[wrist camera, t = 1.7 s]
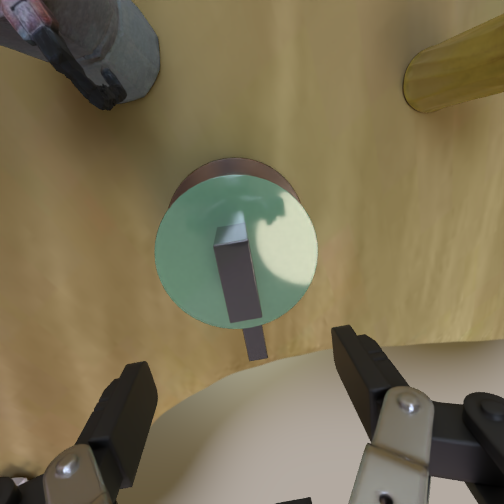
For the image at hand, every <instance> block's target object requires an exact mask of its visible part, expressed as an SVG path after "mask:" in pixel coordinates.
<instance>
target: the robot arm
mask: <svg viewBox="0 0 504 504" xmlns="http://www.w3.org/2000/svg"><path fill="white" fill-rule="evenodd" d="M331 333H332V344H333V353H334V361H335V365H336V369H337V371H338V374H339V376H340V378H341V380H342V382H343V384H344V386H345V388H346V390H347V393H348V395H349V397H350V399H351V401H352V403H353V405H354V407H355V409H356V411H357V413H358V416H359V418H360V420H361V422H362V424H363V426H364V428H365V430H366V432H367V435H368V437H369V439H370V441H371V444H370V443H367V445H366V447H365V450H364V453H363V456H362V460H361V463H360V467H359V470H358V473H357V476H356V480H355V483H354V487H353V490H352V494H351V497H350V500H349V503H348V504H429V494H430V483H431V476H434V477H440V478H446V479H452V480H458V481H464V482H465V483H466V485H467V487H468V488H469V490H470V491H471V493H472V494H473V496H474V498H475V499H476V500H477V502H478V504H504V398H502V397H499V396H497V395H494V394H490V393H485V392H475V393H471V394H469V395H467V396H466V397H465V399H464V404H463V405H461V404H450V403H441V402H435V401H432V400H430V398H429V397H428V396H427V395H426V394H424V393H423V392H421V391H420V390H417V389H415V388H412V387H410V386H409V385H408V384H407V382H406V381H405V379H404V378H403V377H402V376H401V374H400V373H399V372H398V370H397V369H396V368H395V366H394V365H393V364H392V362H391V361H390V360H389V359H388V357H387V356H386V354H385V353H384V352H383V351H382V349H381V348H380V346H379V345H378V344H377V342H376V341H375V340H373V339H372V338H370V337H368V336H367V335H365V334H364V335H359V336H357V335H356V333H355V332H354V330H353V329H352V327H351V326H350V325H344V326H339V327H333V328H332V329H331ZM157 401H158V394H157V389H156V386H155V383H154V380H153V377H152V374H151V371H150V368H149V366H148V363H147V362H146V361H143V362H137V363H132V364H127V365H126V366H125V368H124V370H123V372H122V374H121V376H120V378H118V379H114V380H113V381H112V383H111V384H110V385H109V386H108V387H107V388H106V389H105V390H104V392H103V394H102V396H101V397H100V399H99V403H97V405H96V407H95V408H94V412H92V414H91V416H90V418H89V419H88V421H87V423H86V425H85V427H84V429H83V431H82V432H81V434H80V436H79V438H78V440H77V442H76V443H75V445H74V446H72V447H70V448H68V449H66V450H64V451H63V452H62V453H60V454H59V455H58V456H57V457H56V458H55V459H54V460H53V461H52V462H51V463H50V464H49V466H48V467H47V469H46V471H45V473H44V474H42V475H40V476H38V477H36V478H34V479H31V480H29V481H27V482H25V483H23V484H21V485H18V486H16V484H15V482H14V481H13V479H11V478H9V477H2V478H0V504H118V503H117V501H116V498H117V495H118V492H119V489H123V488H128V487H132V485H133V482H134V479H135V475H136V472H137V469H138V466H139V462H140V459H141V455H142V452H143V449H144V446H145V442H146V439H147V436H148V433H149V429H150V426H151V423H152V419H153V416H154V413H155V409H156V406H157ZM276 504H312V501H311V498H310V497H308V498H303V499H297V500H292V501H286V502H281V503H276Z"/></svg>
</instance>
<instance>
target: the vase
mask: <svg viewBox="0 0 504 504" xmlns="http://www.w3.org/2000/svg"><path fill="white" fill-rule="evenodd" d="M403 90H404V95H405V98H406V100H407V102H408V103H409V105H410V106H412V107H413V108H414V109H416V110H417V111H420V112H434V111H437V110H440V109H442V108H445V107H448V106H452V105H455V104H459V103H463V102H466V101H469V100H473V99H478V98H482V97H486V96H490V95H494V94H498V93H502V92H504V14H502V15H500V16H498V17H496V18H493V19H491V20H489V21H487V22H485V23H483V24H480V25H478V26H476V27H474V28H472V29H470V30H468V31H465V32H463V33H461V34H459V35H457V36H454V37H452V38H450V39H448V40H446V41H444V42H442V43H440V44H438V45H434V46H431V47H429V48H427V49H425V50H423V51H421V52H420V53H418V54H417V55H416V56H415V57H414V59H413V60H412V61H411V63H410V64H409V66H408V68H407V70H406V73H405V77H404V85H403Z"/></svg>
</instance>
